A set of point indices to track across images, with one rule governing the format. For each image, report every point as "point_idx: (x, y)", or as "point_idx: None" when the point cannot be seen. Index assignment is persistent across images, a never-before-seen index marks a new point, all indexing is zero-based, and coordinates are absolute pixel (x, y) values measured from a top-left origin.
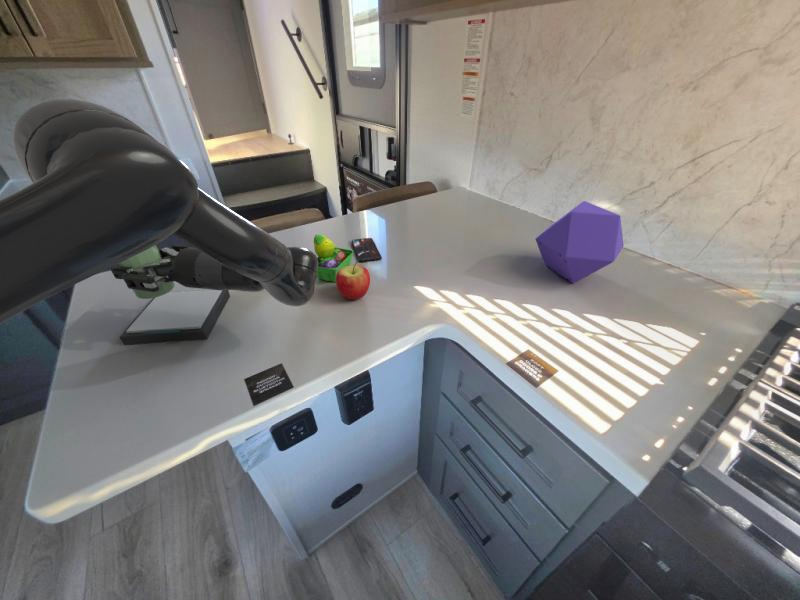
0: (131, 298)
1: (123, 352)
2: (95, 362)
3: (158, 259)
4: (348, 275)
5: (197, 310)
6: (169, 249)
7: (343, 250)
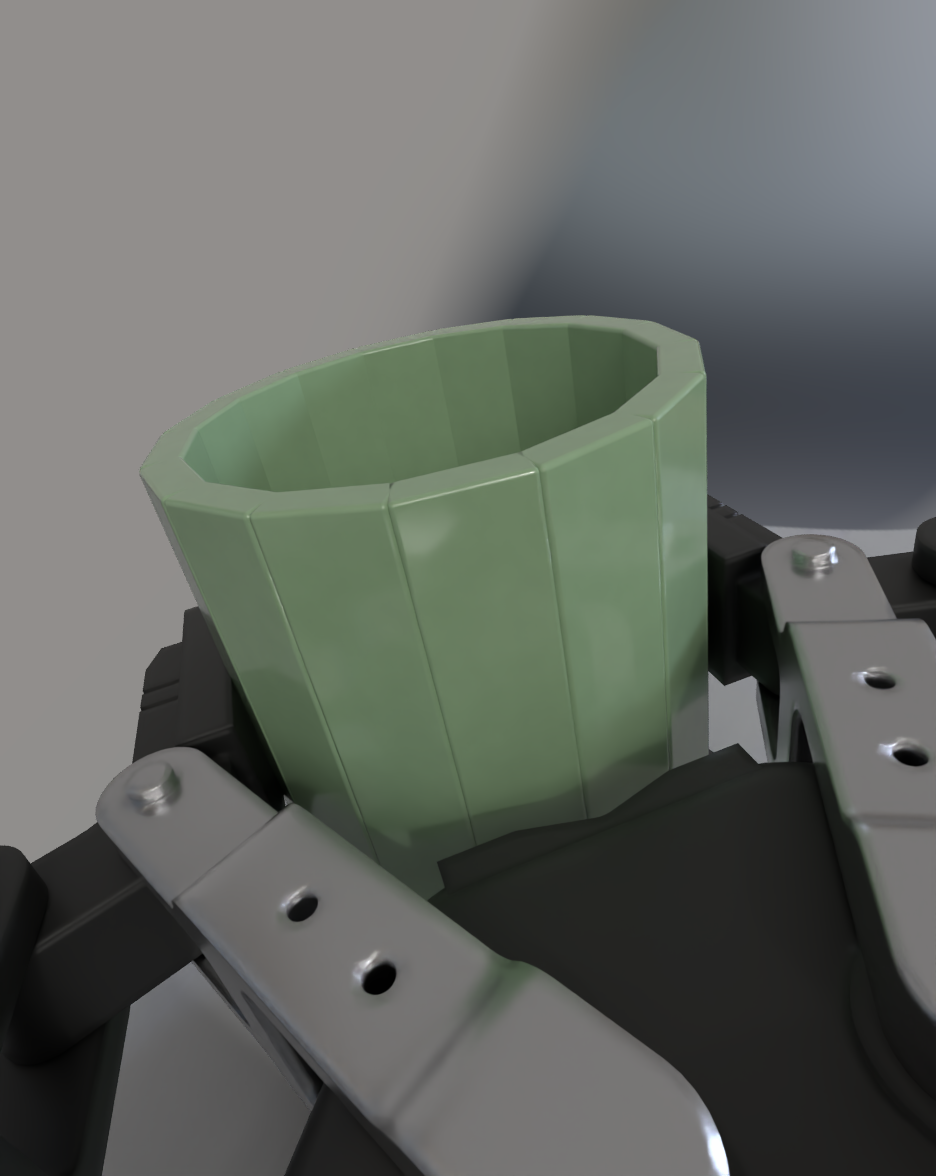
0: None
1: (253, 1078)
2: (153, 1024)
3: (617, 729)
4: None
5: None
6: (871, 624)
7: None
